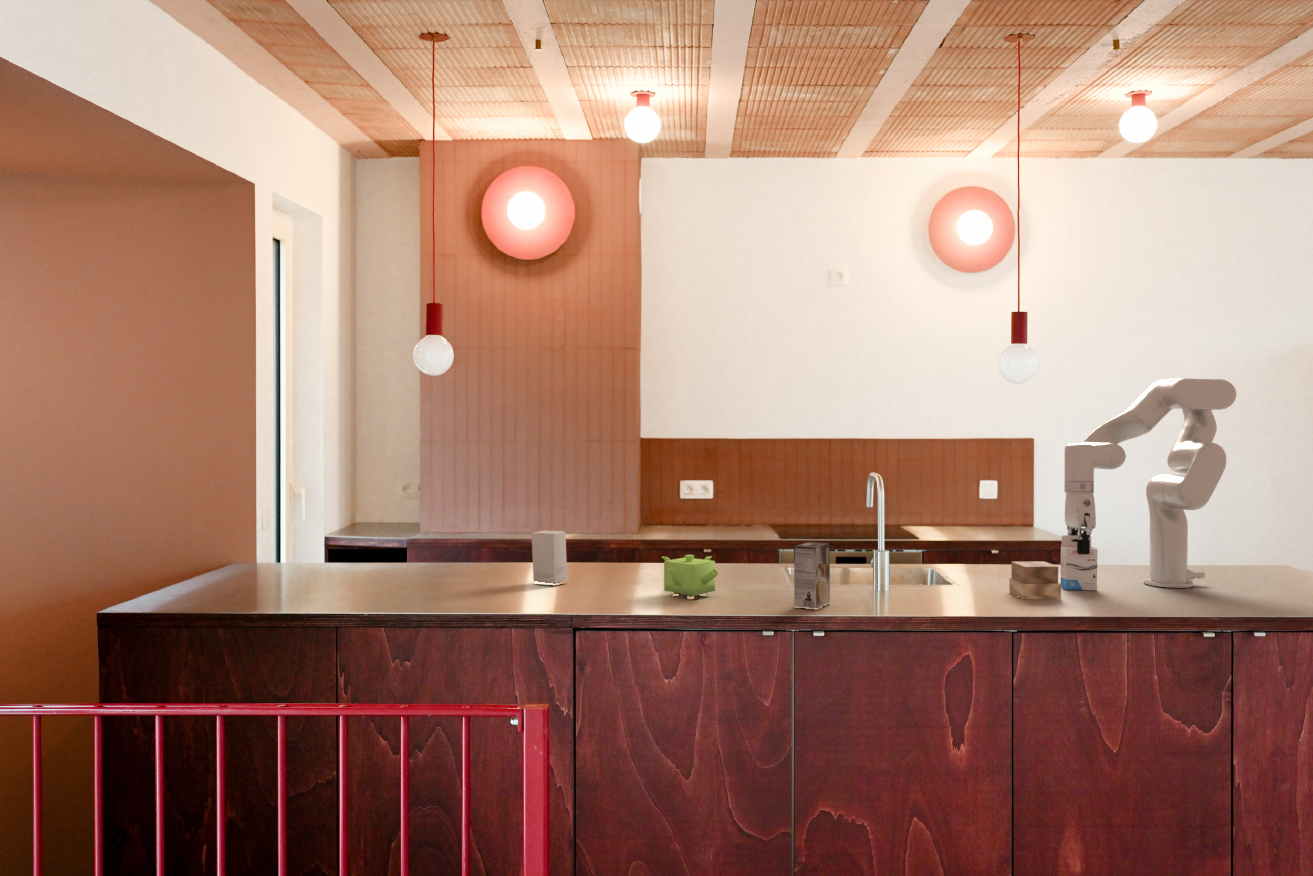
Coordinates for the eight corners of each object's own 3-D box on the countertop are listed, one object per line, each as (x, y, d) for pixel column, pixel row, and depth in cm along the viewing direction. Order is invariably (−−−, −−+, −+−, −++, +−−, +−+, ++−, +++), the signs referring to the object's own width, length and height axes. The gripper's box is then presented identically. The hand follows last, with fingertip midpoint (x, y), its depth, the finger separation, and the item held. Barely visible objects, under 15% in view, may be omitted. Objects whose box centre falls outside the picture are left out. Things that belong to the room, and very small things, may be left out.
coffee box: (807, 602, 248) (807, 541, 247) (830, 604, 244) (830, 543, 244) (793, 608, 240) (793, 545, 239) (817, 611, 236) (816, 547, 236)
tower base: (1046, 593, 259) (1046, 577, 259) (1061, 600, 249) (1061, 583, 249) (1009, 593, 259) (1009, 577, 259) (1023, 601, 249) (1023, 584, 249)
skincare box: (567, 583, 278) (567, 531, 277) (553, 587, 272) (553, 533, 272) (545, 581, 282) (545, 529, 282) (531, 584, 277) (530, 531, 276)
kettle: (661, 591, 265) (661, 551, 265) (711, 590, 266) (711, 550, 266) (665, 601, 250) (665, 559, 250) (718, 600, 251) (718, 558, 251)
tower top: (1044, 577, 258) (1044, 561, 258) (1058, 583, 249) (1058, 566, 249) (1011, 578, 258) (1011, 561, 258) (1024, 583, 249) (1024, 566, 249)
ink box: (1065, 590, 262) (1066, 537, 261) (1059, 587, 267) (1060, 535, 266) (1097, 590, 261) (1098, 537, 261) (1091, 587, 266) (1091, 535, 266)
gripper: (1106, 489, 255) (1106, 556, 255) (1079, 485, 272) (1079, 548, 272) (1078, 490, 255) (1078, 556, 255) (1053, 485, 272) (1052, 548, 272)
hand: (1078, 551), depth 264 cm, fingers closed on ink box, 5 cm apart
